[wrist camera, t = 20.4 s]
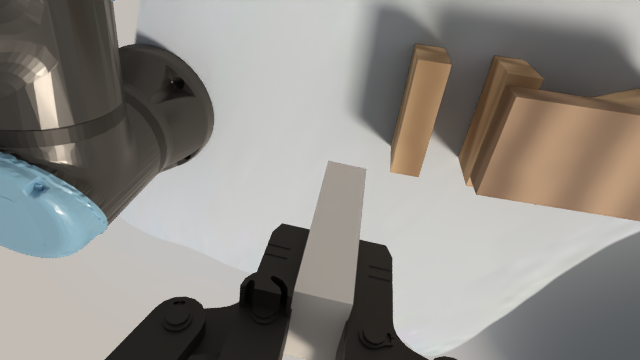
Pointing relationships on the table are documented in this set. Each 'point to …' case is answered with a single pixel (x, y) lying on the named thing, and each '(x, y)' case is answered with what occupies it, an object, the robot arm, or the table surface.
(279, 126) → the table surface
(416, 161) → the bed
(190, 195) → the table surface
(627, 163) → the slab
